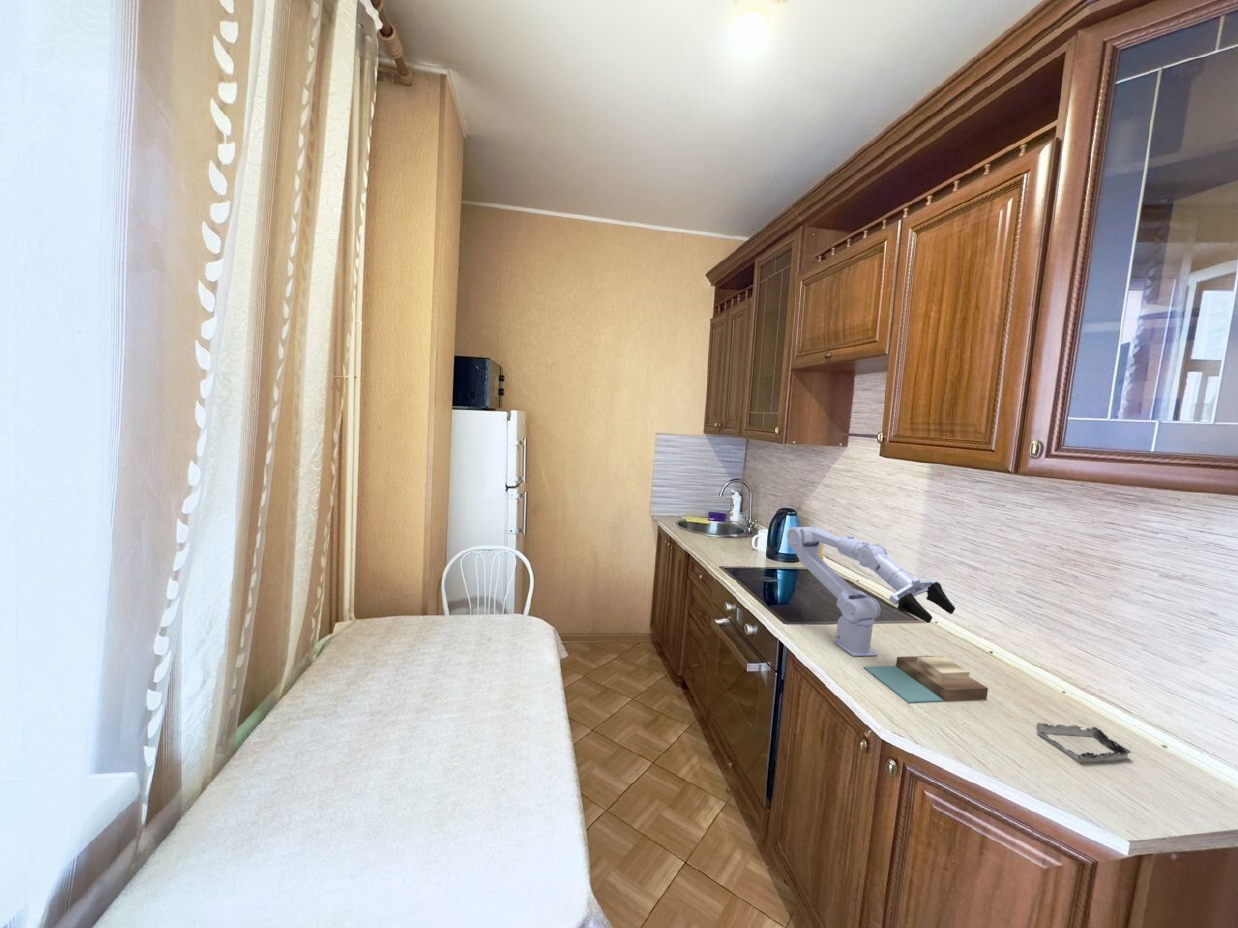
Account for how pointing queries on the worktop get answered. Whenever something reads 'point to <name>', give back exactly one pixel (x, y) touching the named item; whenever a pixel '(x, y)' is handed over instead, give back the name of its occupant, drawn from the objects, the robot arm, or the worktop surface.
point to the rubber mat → (903, 684)
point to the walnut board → (942, 682)
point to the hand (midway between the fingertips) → (941, 615)
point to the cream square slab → (943, 668)
